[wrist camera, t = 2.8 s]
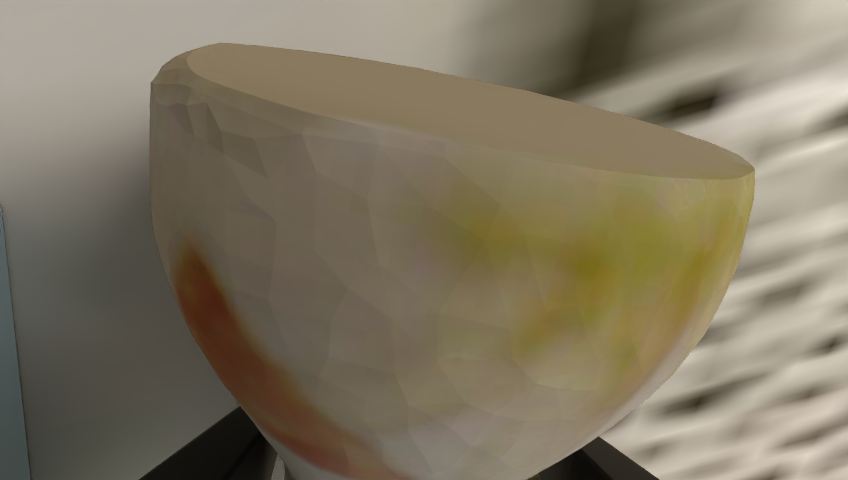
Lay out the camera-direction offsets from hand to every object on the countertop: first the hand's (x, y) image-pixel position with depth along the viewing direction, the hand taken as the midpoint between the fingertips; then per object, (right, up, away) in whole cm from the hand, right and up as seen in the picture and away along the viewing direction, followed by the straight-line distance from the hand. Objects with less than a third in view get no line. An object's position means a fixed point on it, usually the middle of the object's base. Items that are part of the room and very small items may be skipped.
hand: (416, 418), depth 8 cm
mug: (0, +1, +4) cm, 4 cm away
